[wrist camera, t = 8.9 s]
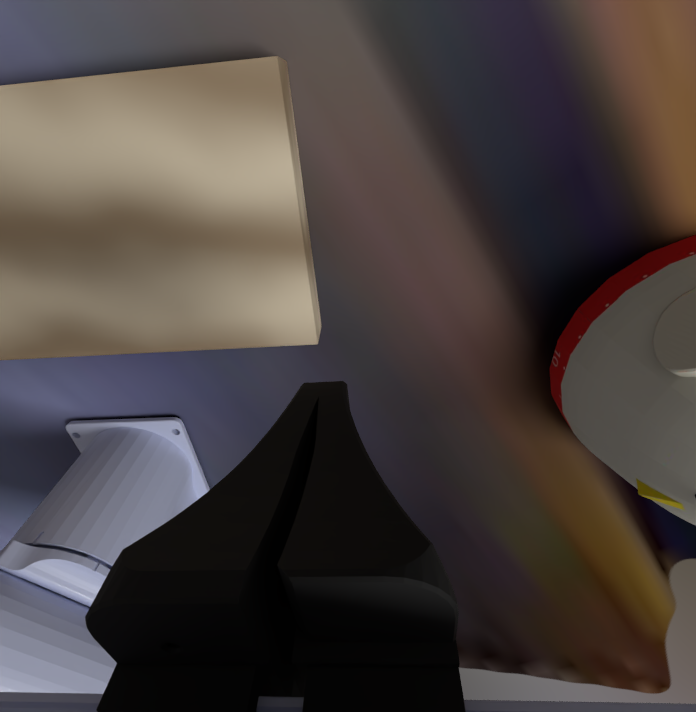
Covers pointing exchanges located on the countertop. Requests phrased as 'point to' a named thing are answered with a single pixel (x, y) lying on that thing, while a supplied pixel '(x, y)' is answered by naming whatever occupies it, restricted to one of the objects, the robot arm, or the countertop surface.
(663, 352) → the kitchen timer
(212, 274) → the beige flat slab
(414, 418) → the countertop surface
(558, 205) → the countertop surface
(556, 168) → the countertop surface
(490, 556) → the countertop surface
